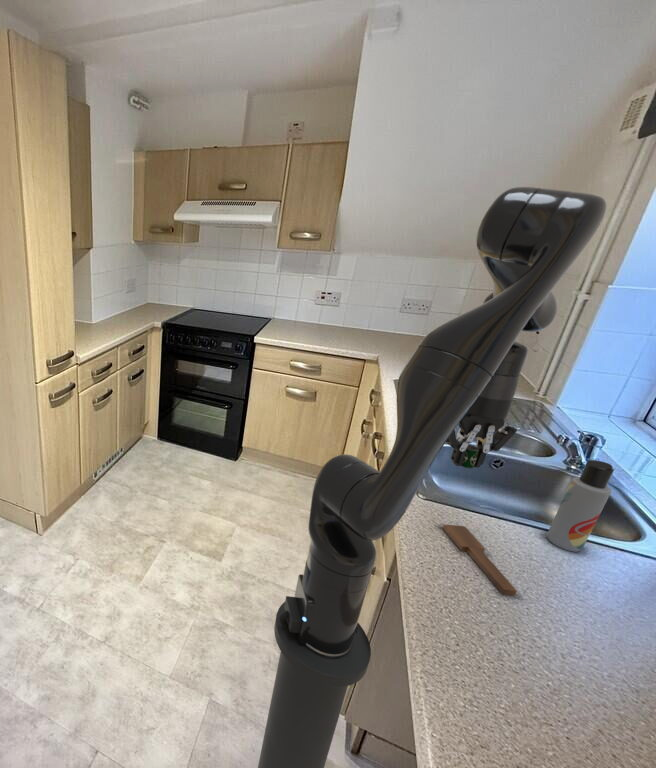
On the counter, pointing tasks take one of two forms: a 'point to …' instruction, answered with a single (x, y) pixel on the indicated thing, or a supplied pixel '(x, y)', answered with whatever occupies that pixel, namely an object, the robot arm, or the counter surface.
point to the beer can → (470, 456)
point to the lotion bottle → (581, 506)
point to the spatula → (479, 556)
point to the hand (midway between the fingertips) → (465, 464)
